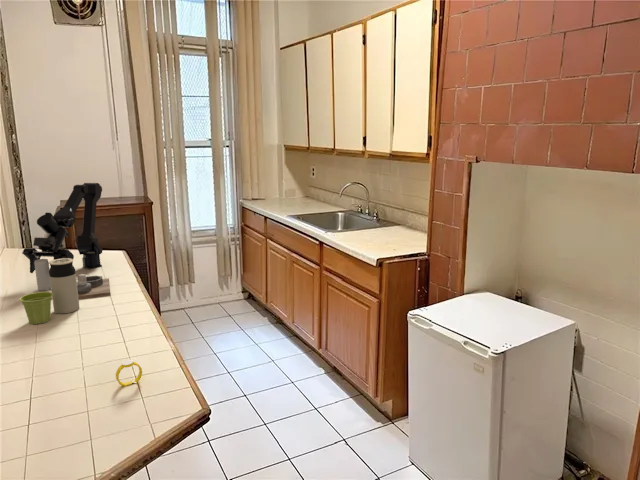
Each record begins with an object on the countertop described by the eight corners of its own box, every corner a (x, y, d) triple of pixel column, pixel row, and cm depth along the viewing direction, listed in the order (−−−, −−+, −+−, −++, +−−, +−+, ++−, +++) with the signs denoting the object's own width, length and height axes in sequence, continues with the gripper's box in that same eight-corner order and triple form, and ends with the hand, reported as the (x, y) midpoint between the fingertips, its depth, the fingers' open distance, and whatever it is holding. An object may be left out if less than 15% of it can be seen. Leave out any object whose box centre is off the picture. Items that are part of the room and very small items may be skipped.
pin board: (66, 285, 194) (64, 268, 192) (109, 280, 200) (107, 263, 199) (63, 300, 176) (61, 281, 174) (110, 295, 183) (108, 276, 181)
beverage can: (47, 291, 187) (43, 261, 184) (35, 291, 187) (31, 261, 185) (54, 287, 192) (50, 258, 189) (42, 287, 192) (38, 258, 189)
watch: (119, 390, 115) (115, 368, 114) (116, 385, 117) (112, 364, 116) (144, 381, 118) (141, 360, 117) (141, 377, 121) (137, 356, 119)
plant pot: (16, 324, 155) (12, 298, 153) (42, 314, 163) (39, 290, 161) (36, 328, 151) (33, 302, 149) (62, 318, 160) (59, 293, 158)
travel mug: (84, 308, 169) (79, 259, 165) (64, 315, 162) (58, 264, 158) (69, 304, 172) (63, 256, 168) (48, 312, 165) (42, 262, 161)
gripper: (22, 228, 189) (5, 262, 181) (66, 229, 187) (51, 263, 179) (38, 243, 198) (22, 276, 190) (80, 244, 197) (66, 277, 188)
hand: (40, 273), depth 187 cm, fingers open, 8 cm apart
